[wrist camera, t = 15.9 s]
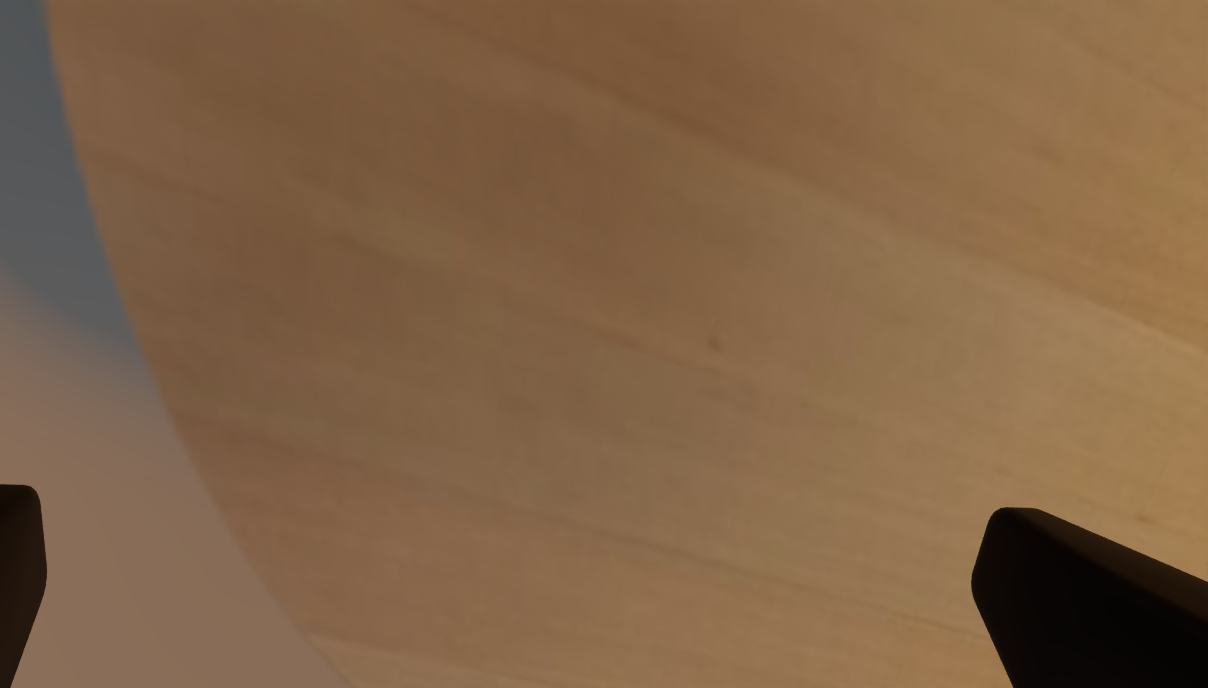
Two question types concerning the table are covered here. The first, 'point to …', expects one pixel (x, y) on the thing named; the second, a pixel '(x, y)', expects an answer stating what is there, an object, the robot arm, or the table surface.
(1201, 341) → the table surface
